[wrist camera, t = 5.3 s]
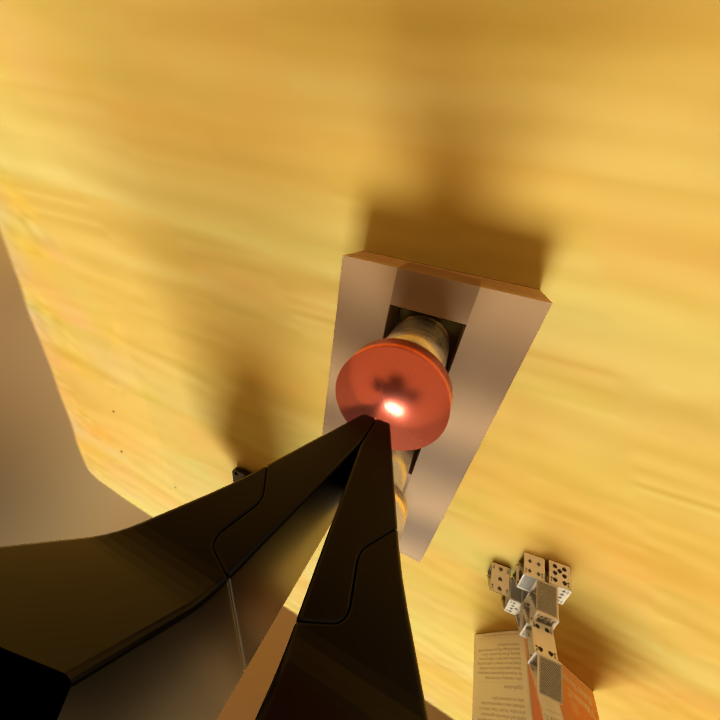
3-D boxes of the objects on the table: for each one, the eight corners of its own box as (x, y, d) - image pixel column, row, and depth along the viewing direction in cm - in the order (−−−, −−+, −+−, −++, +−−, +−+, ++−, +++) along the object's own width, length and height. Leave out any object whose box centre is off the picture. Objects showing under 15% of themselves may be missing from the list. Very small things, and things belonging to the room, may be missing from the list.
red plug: (446, 388, 15) (430, 466, 10) (376, 364, 16) (330, 425, 11) (473, 317, 13) (468, 372, 8) (390, 296, 14) (342, 333, 9)
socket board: (428, 514, 24) (420, 562, 20) (335, 472, 26) (314, 508, 23) (535, 284, 14) (552, 303, 11) (371, 249, 16) (343, 255, 13)
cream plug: (416, 469, 18) (392, 559, 13) (359, 445, 19) (317, 520, 14) (433, 423, 16) (412, 508, 11) (368, 399, 17) (324, 468, 12)
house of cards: (456, 489, 22) (446, 597, 15) (587, 531, 19) (640, 685, 13) (439, 554, 26) (425, 662, 19) (545, 597, 23) (569, 740, 17)
